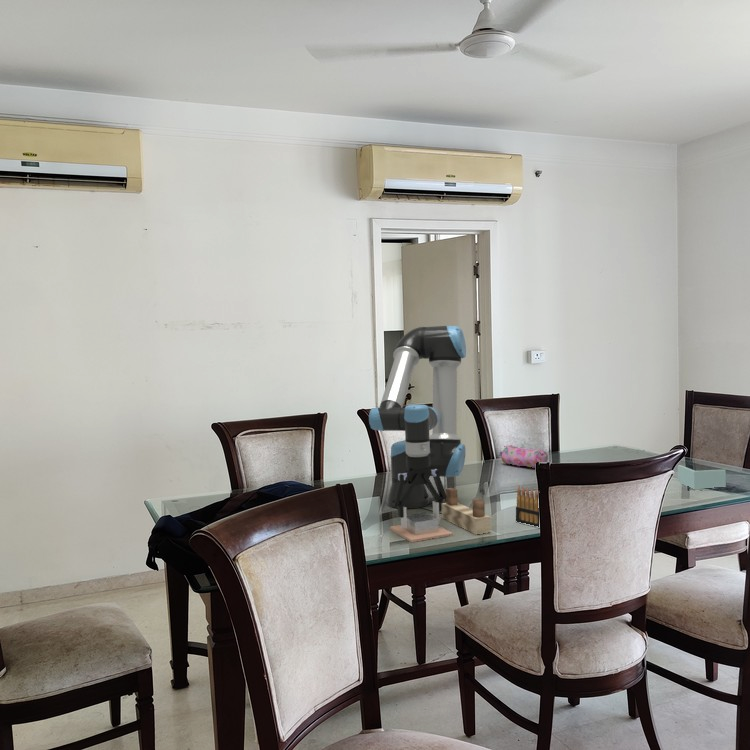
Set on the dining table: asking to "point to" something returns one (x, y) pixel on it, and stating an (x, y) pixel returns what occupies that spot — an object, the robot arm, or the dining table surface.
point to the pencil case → (523, 456)
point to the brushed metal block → (422, 523)
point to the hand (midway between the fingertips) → (420, 524)
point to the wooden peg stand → (465, 513)
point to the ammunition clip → (527, 507)
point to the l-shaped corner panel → (701, 478)
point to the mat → (415, 538)
